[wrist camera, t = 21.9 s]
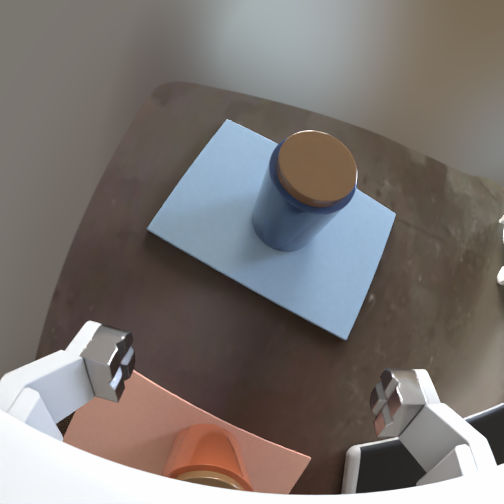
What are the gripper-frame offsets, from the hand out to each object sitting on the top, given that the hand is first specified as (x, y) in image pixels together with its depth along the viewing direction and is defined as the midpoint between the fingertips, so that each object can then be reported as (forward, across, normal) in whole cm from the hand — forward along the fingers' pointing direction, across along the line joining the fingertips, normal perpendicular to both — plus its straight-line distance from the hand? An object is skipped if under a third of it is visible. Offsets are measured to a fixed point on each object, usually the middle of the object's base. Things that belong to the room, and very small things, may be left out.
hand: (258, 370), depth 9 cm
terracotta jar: (+6, +2, +18) cm, 19 cm away
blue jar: (+20, -2, +2) cm, 20 cm away
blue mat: (+21, -2, +2) cm, 21 cm away
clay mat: (+4, +4, +20) cm, 21 cm away
